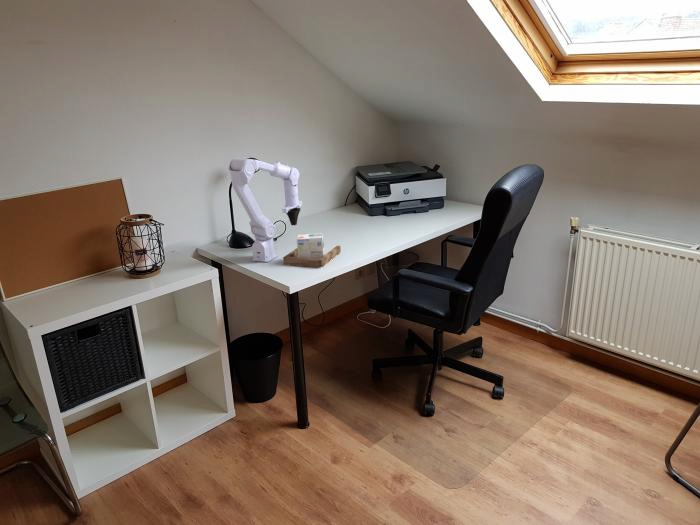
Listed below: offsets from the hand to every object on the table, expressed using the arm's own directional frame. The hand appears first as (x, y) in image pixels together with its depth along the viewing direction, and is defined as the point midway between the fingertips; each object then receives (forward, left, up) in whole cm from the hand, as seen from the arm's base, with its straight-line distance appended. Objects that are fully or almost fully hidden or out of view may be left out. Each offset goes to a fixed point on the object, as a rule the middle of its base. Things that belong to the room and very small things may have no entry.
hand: (293, 224), depth 255 cm
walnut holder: (-11, -14, -10) cm, 21 cm away
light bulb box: (-14, -15, -11) cm, 23 cm away
